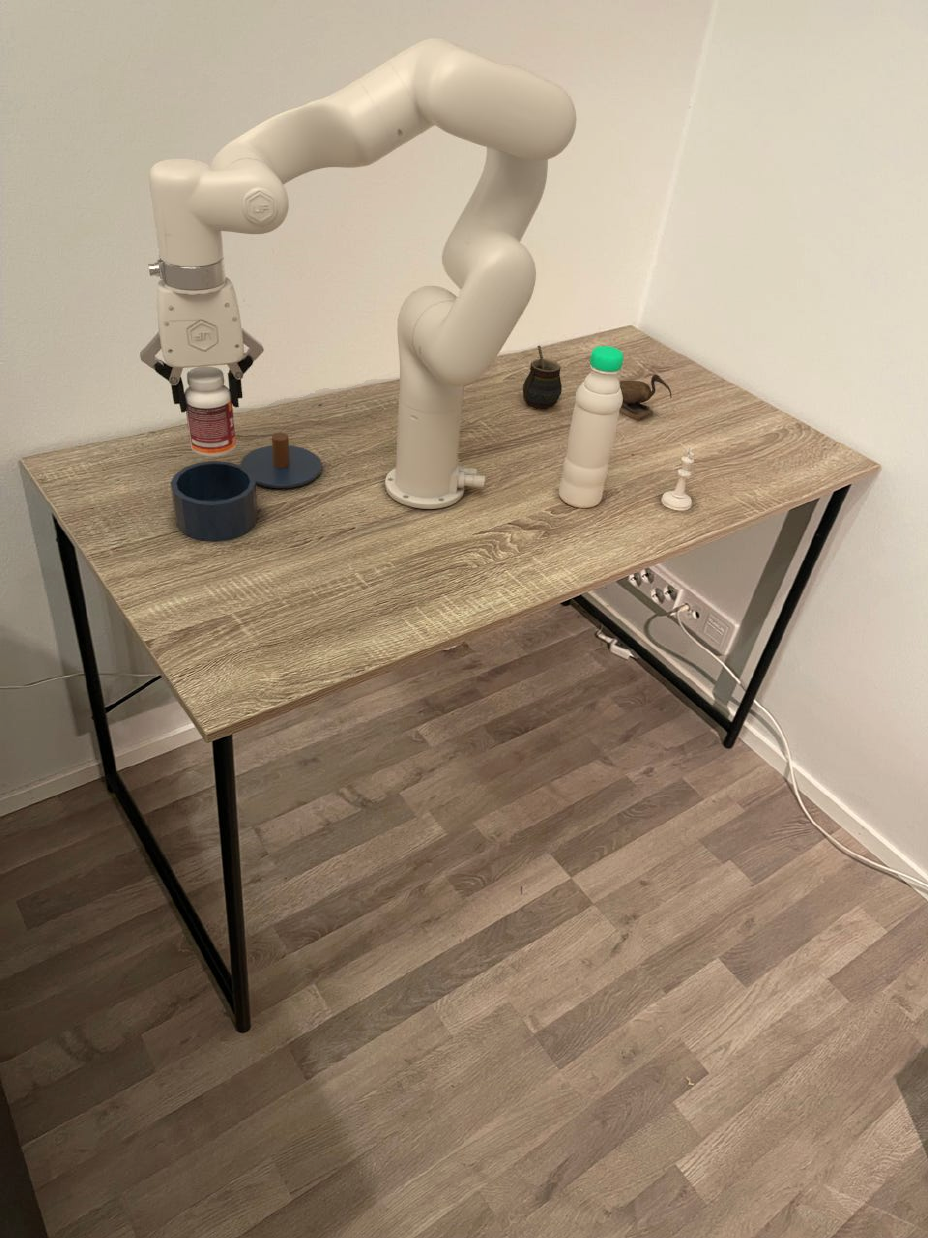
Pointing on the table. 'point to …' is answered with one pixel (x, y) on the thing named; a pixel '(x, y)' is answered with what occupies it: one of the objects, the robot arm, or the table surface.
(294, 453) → the lid
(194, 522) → the tin
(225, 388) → the pill bottle
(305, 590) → the table surface
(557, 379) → the mate gourd
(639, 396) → the figurine
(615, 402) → the water bottle
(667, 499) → the chess piece
